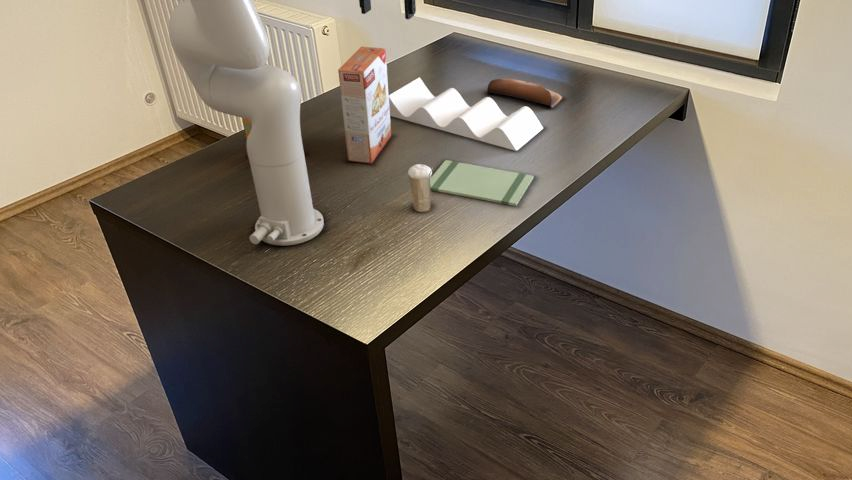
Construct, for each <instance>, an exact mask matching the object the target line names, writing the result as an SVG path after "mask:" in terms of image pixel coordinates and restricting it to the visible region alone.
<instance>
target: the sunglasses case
mask: <svg viewBox="0 0 852 480" xmlns="http://www.w3.org/2000/svg"><path fill="white" fill-rule="evenodd" d="M486 92H487V94H494V95H500V96H510V97H513V98H516V99H520V100H526V101H529V102H533V103H538V104H542V105H545V106H549V107H550V108H551V109H553V108H554V107H556V106H557V105H558V104H559V103H560V101H562V99H563V96H562V95H560V94H559V93H557V92H555V91H553V90H551V89H548V88H546V87H544V86H542V85H540V84H538V83H533V82H530V81H525V80H519V79H515V78H495V79H492V80H490V81H489V82H488V85H487V91H486Z"/></svg>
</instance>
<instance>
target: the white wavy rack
mask: <svg viewBox="0 0 852 480" xmlns="http://www.w3.org/2000/svg"><path fill="white" fill-rule="evenodd" d="M389 109H390V117H392V118H396V119H400V120H403V121H408V122H411V123H414V124H418V125H421V126H425V127H429V128H433V129H436V130H439V131H443V132H447V133H449V134H454V135H458V136H462V137H465V138H468V139H472V140H476V141H478V142H483V143H486V144H490V145H494V146H497V147H500V148H505V149H508V150H511V151H515V152H517V151H518V150H520V149H521V148H522V147H523V146H524V145H526V144H527V143H528V142H530V140H531V139H533V138H534V137H536V135H538V133H541V131H542V130H543V129H544V126H543V125H542V124H541V122H540V120H539V119H538V117H537V116H536V114H535V113H534V111H533V110H532V109H531V108H530V107H529V106H522V107H520V108H519V109H518V110H516V111H514V112H512V113H511V114H509V115H506V114H504V112H503V111H502V110H501V109H500V107H499V106H498V104H497V102H495V100H494V99H493V98H491V97H490V96H485V97H484V98H482V99H480V100H479V101H478V102H476V103H475V104H473V105H472V106H470V105H469V104H468V103H467V102H466V101H465V99H464V98H463V97H462V95H461V94H460V93H459V91H458V90H457V89H456V88H454V87H449V88H447V89H446V90H445V91H443V92H441V93H440V94H439V95H437V96H435V95H433V93H432V92H431V91H430V89H428V87H427V85H426V84H425V83H424V81H423V79H421V77H418V78H416V79H414V80H412V81H411V82H409V83H408V84H406V85H404V86H402V87H400V88H399V89H397V90H395V91H394V92H392V93H391V94H389Z"/></svg>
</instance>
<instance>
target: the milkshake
mask: <svg viewBox="0 0 852 480" xmlns="http://www.w3.org/2000/svg"><path fill="white" fill-rule="evenodd" d="M433 169H434V166H432V167H430V166H428V165H426V164H422V163H419V164H418V163H417V164H414V165H412V166H410V168H409V169H408V171H407V174H408V180H409V186H410V193H411V198H412V205H413V206H412V207H413V209H414V211H417V212H419V213H424V212H427V211H429V210H430V209H431V205H432V203H431V201H432V200H431V199H432V190H431V178H432V176H433Z"/></svg>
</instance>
